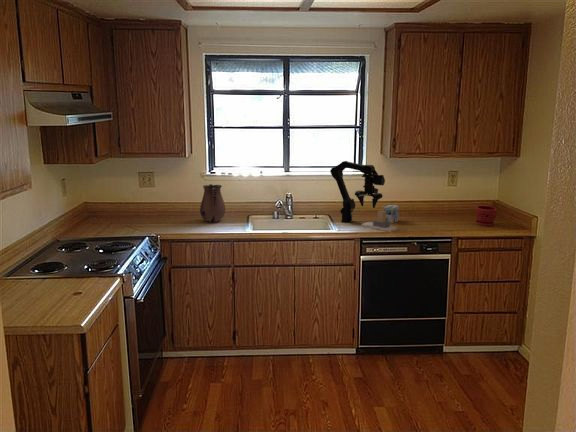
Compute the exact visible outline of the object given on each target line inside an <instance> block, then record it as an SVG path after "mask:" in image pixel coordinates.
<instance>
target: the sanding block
mask: <svg viewBox="0 0 576 432" xmlns="http://www.w3.org/2000/svg"><path fill="white" fill-rule="evenodd" d="M372 223H373V226H377V227H382V228H386V227H389V226H391V223H390V222H388V221H386V211H384V209H383V210H377V217H376V220H373V222H372Z"/></svg>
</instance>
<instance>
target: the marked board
mask: <svg viewBox="0 0 576 432" xmlns="http://www.w3.org/2000/svg"><path fill="white" fill-rule="evenodd" d="M361 226H362V227H364V228H369V229H373V228H374V229H373V230H378V229H379V231H382V232H383V231H385V232H387V233H388V232H389V233H392V232H394V231H398V227H397V226H391V225H390V226H389V227H386V228H382V227H377V226H373V222H372V221H367V222H365V223H361Z"/></svg>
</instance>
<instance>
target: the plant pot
mask: <svg viewBox="0 0 576 432" xmlns="http://www.w3.org/2000/svg"><path fill="white" fill-rule="evenodd" d="M497 212H498V208H496V207H494V206H490V205H477V206H476V208H475V218H476V220H475V223H476V224H477V225H479V226H483V227H491V226H493V225H494V224H495V220H496V217H497Z"/></svg>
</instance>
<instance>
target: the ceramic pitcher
mask: <svg viewBox="0 0 576 432" xmlns="http://www.w3.org/2000/svg"><path fill="white" fill-rule="evenodd" d="M222 186H223V185H221V184H214V185H213V184H212V183H211V184H206V185H205V184H204V185H203V186H202V188H203V196H202V199H201V202H200V207H199V214H200V216H201V217H202V219H203V220H204V221H205V222H208V221H209V223H215V222H217V223H218V222H220V221H221V220H222V219H223V218H224V216H225V214H226V207H225V201H224V199H223V194H222V191H221V188H222Z"/></svg>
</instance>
